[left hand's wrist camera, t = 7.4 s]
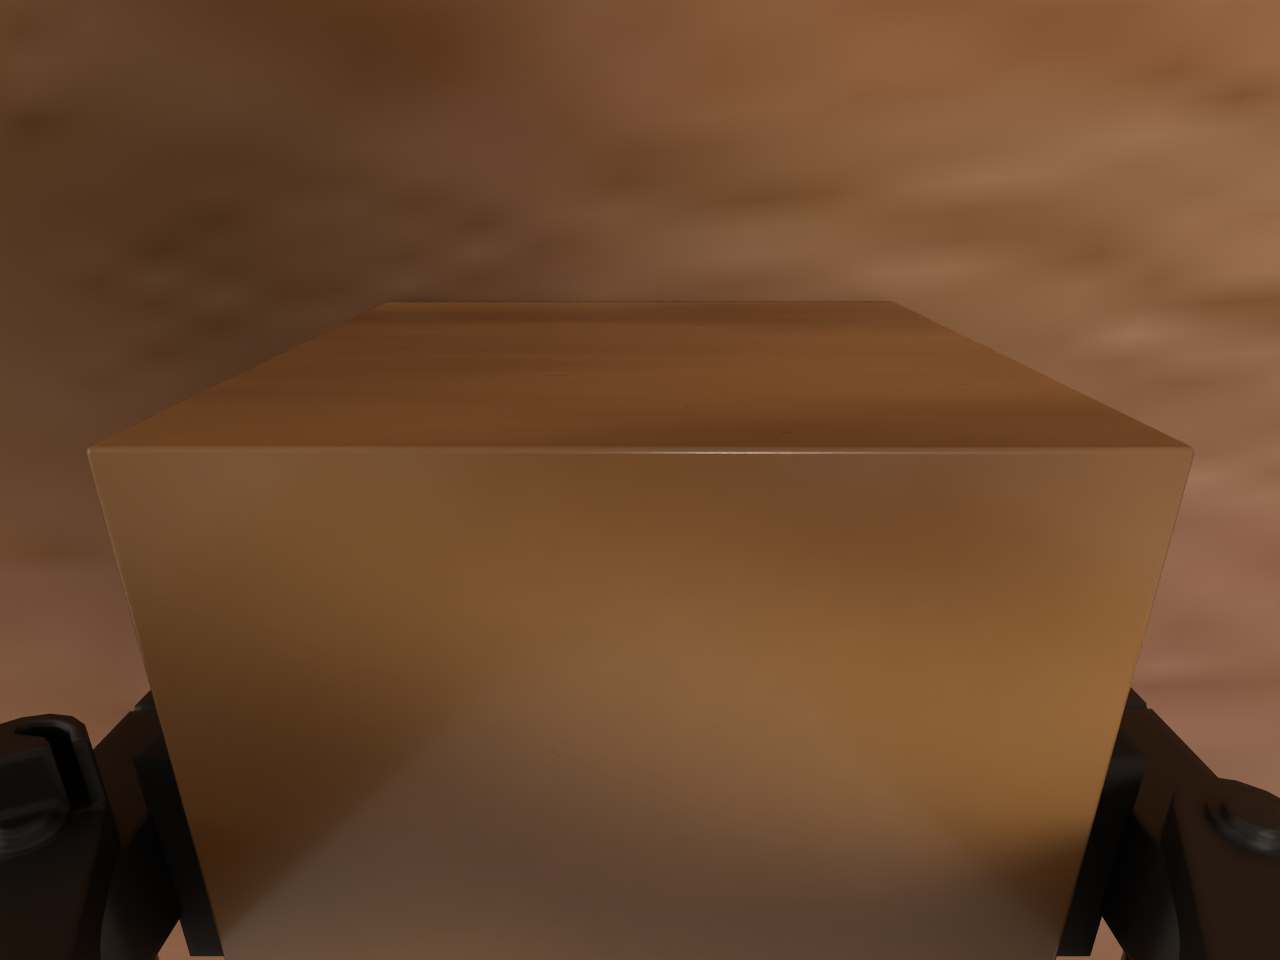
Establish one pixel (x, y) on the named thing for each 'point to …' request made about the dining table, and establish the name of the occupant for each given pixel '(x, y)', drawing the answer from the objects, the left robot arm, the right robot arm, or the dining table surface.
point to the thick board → (640, 632)
